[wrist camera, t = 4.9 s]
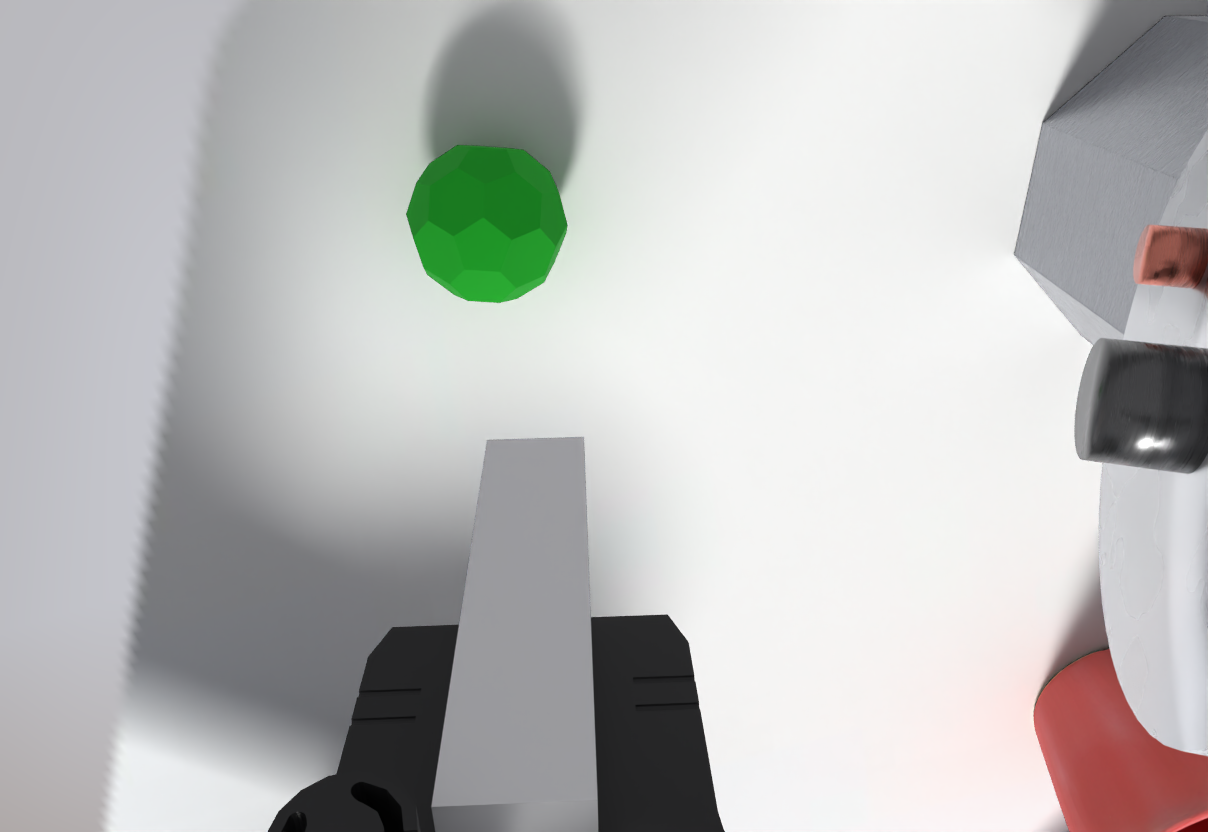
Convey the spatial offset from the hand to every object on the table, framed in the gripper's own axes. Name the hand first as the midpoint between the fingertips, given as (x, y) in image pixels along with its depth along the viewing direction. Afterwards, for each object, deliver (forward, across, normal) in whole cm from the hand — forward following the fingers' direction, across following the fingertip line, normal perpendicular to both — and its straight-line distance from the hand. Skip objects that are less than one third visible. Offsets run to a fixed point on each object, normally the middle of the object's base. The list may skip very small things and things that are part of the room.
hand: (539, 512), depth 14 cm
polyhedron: (+19, -2, 0) cm, 19 cm away
